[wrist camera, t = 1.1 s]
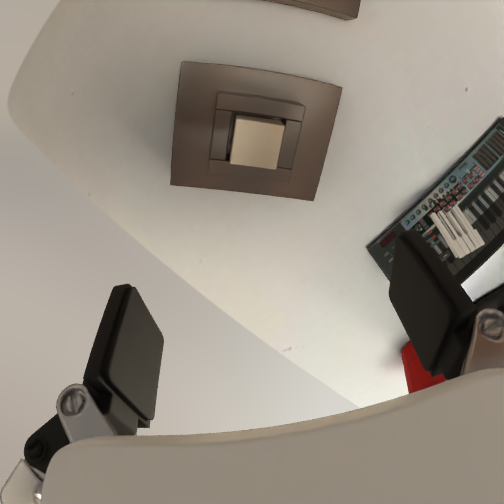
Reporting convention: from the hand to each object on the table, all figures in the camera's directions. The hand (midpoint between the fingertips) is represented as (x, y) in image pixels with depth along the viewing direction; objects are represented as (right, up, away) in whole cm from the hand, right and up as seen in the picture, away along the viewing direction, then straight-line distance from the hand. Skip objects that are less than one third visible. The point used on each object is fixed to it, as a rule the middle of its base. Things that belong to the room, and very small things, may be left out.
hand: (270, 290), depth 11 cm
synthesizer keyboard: (+21, +8, +18) cm, 29 cm away
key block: (-1, +11, +13) cm, 18 cm away
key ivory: (0, +9, +11) cm, 14 cm away
